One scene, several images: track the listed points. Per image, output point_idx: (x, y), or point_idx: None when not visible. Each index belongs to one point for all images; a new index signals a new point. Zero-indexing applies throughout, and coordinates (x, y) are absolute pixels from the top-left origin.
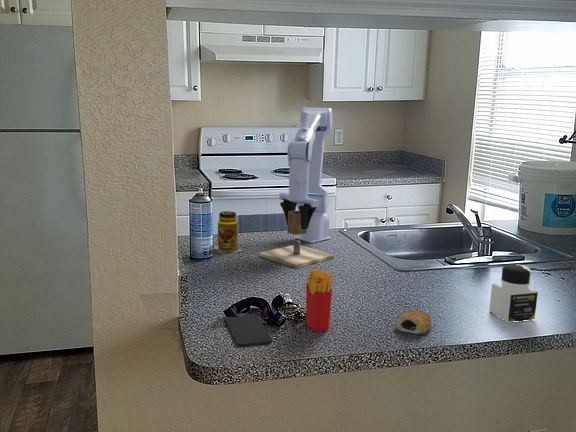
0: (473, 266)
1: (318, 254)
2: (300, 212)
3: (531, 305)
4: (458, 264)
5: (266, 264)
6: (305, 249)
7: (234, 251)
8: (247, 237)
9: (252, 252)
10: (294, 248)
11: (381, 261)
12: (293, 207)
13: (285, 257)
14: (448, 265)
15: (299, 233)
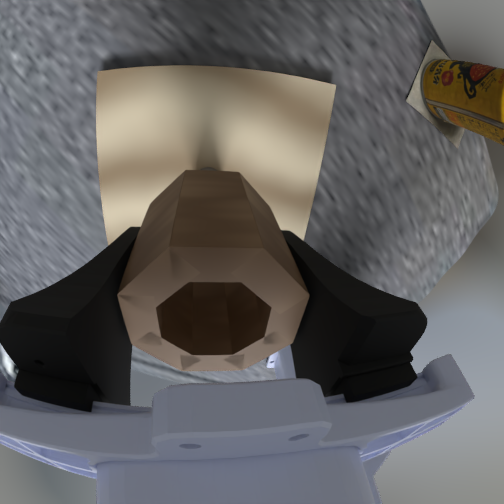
0: (4, 370)
1: None
2: (91, 292)
3: None
4: (13, 369)
5: (227, 15)
6: None
7: (420, 81)
8: (449, 233)
9: (375, 108)
10: None
11: None
12: (303, 363)
13: (203, 104)
14: (10, 360)
15: (154, 201)
